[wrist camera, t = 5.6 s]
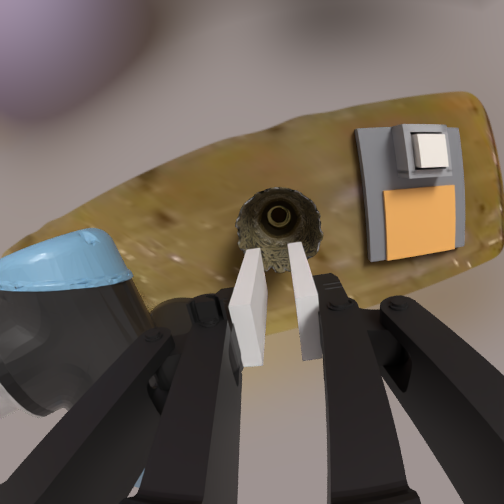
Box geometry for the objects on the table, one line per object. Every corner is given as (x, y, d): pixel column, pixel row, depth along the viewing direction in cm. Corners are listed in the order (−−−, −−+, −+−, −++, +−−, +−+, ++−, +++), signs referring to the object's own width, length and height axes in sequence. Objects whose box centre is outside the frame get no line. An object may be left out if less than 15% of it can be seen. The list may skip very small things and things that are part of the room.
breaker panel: (367, 258, 32) (379, 271, 28) (354, 129, 27) (365, 125, 24) (459, 243, 30) (476, 253, 26) (453, 128, 26) (471, 126, 22)
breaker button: (408, 166, 26) (421, 167, 23) (404, 136, 25) (417, 133, 22) (434, 165, 26) (448, 166, 23) (430, 135, 25) (444, 134, 22)
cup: (313, 245, 32) (324, 270, 24) (249, 249, 33) (240, 276, 25) (309, 179, 30) (321, 184, 22) (242, 184, 31) (230, 191, 23)
